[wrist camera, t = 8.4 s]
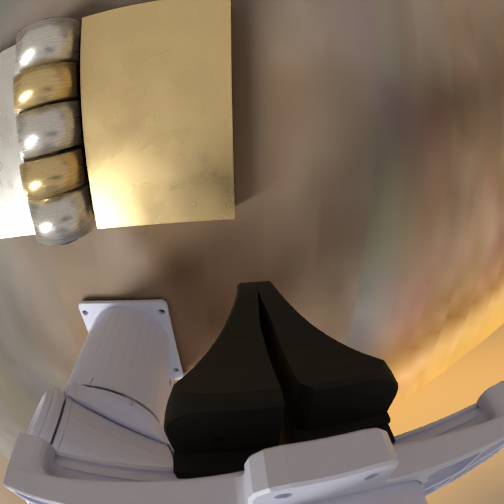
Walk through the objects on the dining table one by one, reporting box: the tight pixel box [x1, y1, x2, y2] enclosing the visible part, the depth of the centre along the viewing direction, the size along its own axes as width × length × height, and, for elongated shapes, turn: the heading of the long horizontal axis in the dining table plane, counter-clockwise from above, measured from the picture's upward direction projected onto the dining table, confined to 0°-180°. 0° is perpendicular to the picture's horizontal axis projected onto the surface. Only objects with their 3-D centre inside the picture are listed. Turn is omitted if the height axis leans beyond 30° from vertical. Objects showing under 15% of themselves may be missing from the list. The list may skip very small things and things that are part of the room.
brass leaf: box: [13, 0, 235, 229], centre depth 15 cm, size 14×14×4 cm
